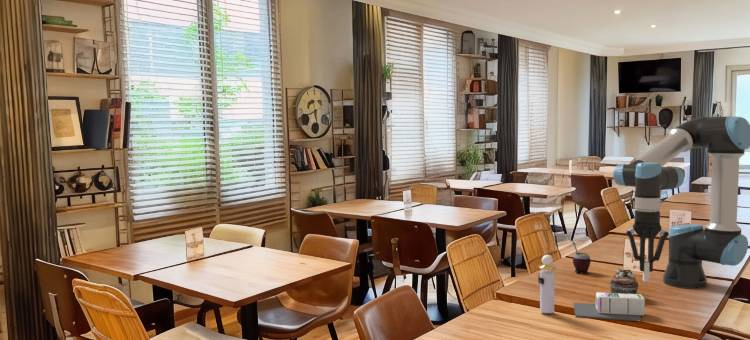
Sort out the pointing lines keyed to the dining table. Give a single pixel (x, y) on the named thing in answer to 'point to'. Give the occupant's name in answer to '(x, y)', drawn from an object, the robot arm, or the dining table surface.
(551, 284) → the perfume bottle
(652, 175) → the robot arm
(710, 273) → the dining table surface
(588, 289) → the dining table surface
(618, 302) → the syrup box
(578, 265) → the mate gourd
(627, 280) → the cupcake
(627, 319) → the topple mat
